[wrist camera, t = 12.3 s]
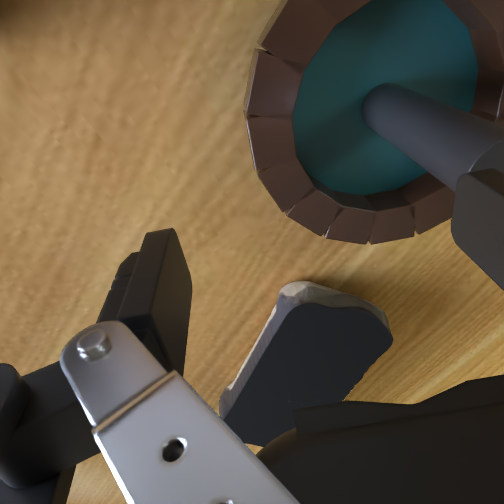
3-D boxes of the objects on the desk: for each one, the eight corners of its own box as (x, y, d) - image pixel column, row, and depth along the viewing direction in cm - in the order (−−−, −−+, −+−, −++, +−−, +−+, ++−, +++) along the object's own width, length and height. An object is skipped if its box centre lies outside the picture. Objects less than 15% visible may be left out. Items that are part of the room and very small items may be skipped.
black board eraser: (294, 417, 36) (301, 455, 33) (212, 402, 34) (211, 441, 31) (387, 294, 28) (407, 328, 25) (289, 264, 26) (298, 297, 23)
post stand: (482, -27, 17) (773, -74, 8) (455, 170, 23) (613, 275, 14) (276, 16, 18) (334, 18, 9) (297, 200, 23) (347, 322, 14)
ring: (553, -106, 15) (599, -123, 13) (492, 201, 23) (515, 217, 21) (217, -32, 16) (217, -38, 14) (268, 244, 24) (272, 263, 22)
